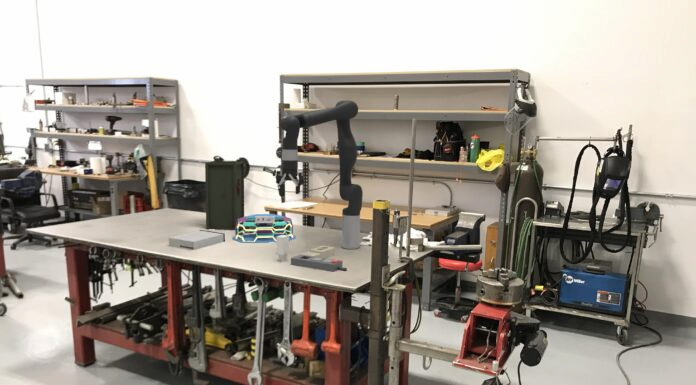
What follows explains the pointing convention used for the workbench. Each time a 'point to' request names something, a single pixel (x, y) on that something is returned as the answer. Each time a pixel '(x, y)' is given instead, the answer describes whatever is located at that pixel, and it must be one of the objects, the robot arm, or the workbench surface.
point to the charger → (282, 247)
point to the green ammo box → (224, 194)
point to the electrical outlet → (321, 252)
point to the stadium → (262, 228)
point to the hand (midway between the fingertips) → (289, 193)
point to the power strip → (317, 262)
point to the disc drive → (196, 239)
